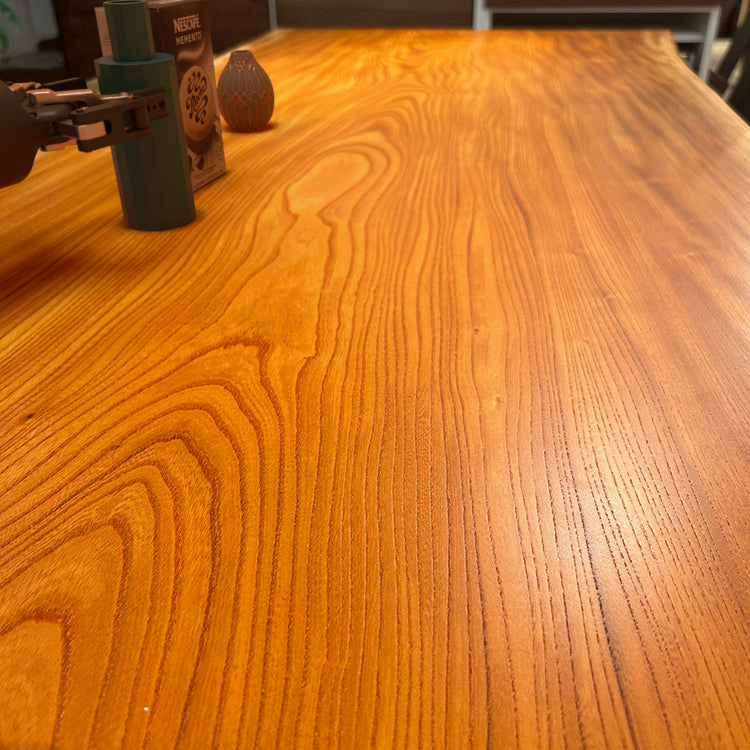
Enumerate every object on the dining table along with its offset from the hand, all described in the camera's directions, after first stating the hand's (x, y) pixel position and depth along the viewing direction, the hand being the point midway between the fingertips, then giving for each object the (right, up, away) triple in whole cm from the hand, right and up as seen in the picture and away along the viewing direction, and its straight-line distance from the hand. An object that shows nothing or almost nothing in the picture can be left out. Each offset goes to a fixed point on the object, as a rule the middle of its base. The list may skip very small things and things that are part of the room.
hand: (123, 95), depth 60 cm
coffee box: (0, -3, +16) cm, 16 cm away
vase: (+4, +9, +35) cm, 36 cm away
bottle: (+1, -8, +7) cm, 11 cm away
